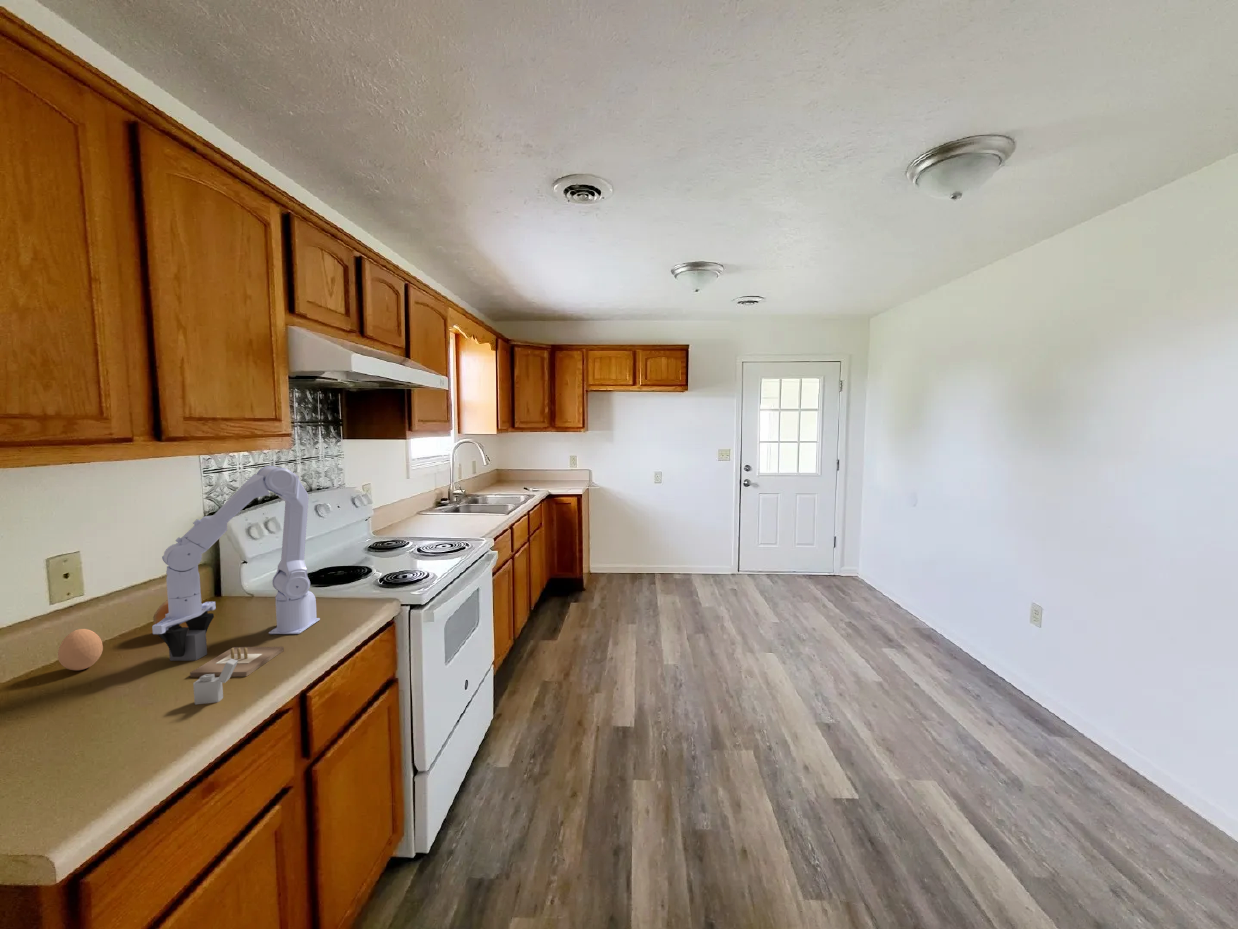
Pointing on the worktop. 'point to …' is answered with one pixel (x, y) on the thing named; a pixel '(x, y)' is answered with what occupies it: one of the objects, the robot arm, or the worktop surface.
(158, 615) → the onion
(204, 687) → the lighter
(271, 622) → the worktop surface
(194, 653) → the block
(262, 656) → the board
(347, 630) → the worktop surface
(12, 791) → the worktop surface
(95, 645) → the egg
